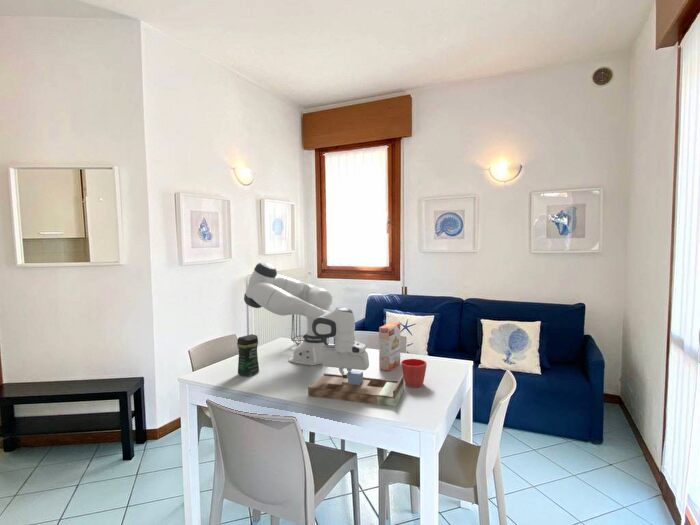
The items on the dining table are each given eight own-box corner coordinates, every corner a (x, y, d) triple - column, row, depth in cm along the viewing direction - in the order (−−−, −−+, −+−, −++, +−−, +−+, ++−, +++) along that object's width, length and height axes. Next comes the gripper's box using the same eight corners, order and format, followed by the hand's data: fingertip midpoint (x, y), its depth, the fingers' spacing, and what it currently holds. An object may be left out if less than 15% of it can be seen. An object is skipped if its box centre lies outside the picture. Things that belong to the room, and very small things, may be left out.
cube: (348, 383, 160) (347, 374, 160) (351, 379, 165) (351, 370, 165) (359, 385, 159) (359, 375, 158) (363, 380, 163) (362, 371, 163)
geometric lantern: (288, 349, 226) (286, 289, 225) (295, 342, 241) (293, 287, 240) (314, 349, 223) (312, 289, 222) (320, 342, 239) (318, 286, 238)
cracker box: (390, 371, 183) (389, 328, 182) (378, 370, 186) (378, 327, 185) (401, 363, 195) (400, 322, 194) (390, 361, 198) (389, 321, 197)
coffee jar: (246, 378, 178) (244, 338, 177) (235, 375, 183) (233, 336, 182) (262, 372, 186) (260, 334, 185) (251, 369, 190) (250, 332, 189)
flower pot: (409, 378, 174) (409, 356, 174) (431, 383, 167) (431, 361, 167) (396, 385, 166) (396, 362, 165) (419, 390, 159) (418, 367, 158)
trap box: (308, 395, 156) (307, 381, 156) (324, 381, 172) (323, 368, 172) (395, 406, 144) (395, 390, 144) (403, 389, 160) (403, 375, 160)
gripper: (319, 346, 163) (320, 378, 163) (365, 349, 156) (366, 383, 157) (325, 342, 169) (325, 373, 169) (369, 345, 162) (370, 377, 163)
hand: (345, 378), depth 163 cm, fingers closed
